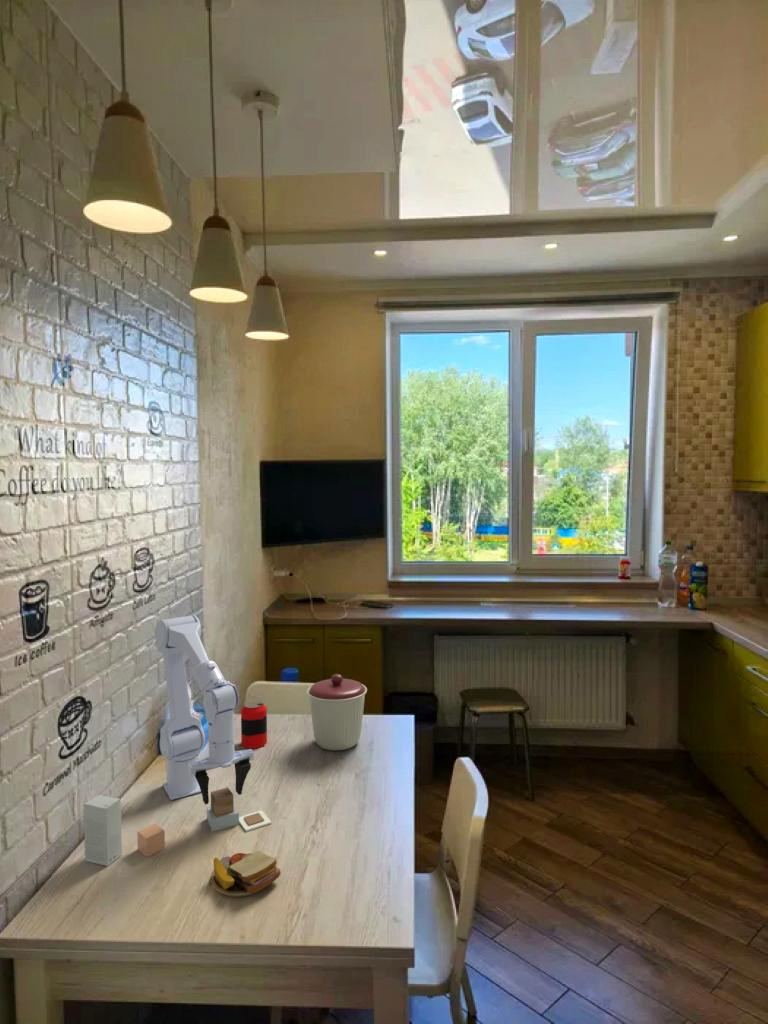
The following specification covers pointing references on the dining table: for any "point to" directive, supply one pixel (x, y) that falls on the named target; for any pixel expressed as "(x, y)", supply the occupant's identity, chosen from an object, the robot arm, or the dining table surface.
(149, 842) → the terracotta cube
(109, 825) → the skincare box
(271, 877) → the toy sandwich meal
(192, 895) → the dining table surface
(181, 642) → the robot arm
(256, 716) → the soda can
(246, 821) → the swatch
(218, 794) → the walnut cube
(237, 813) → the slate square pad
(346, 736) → the canister
